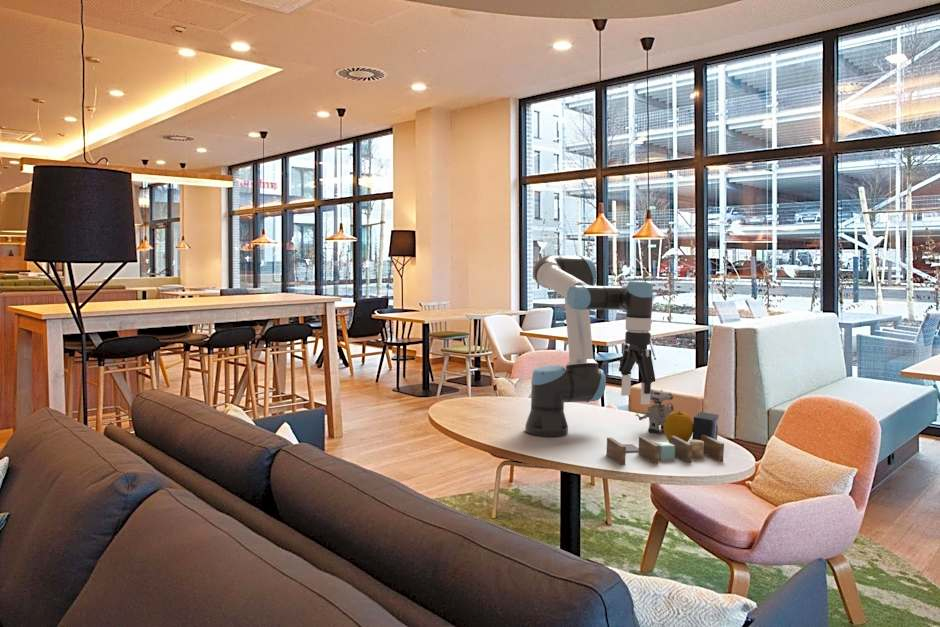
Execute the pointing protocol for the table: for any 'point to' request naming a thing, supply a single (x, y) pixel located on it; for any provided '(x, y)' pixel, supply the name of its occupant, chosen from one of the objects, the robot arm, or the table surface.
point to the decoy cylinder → (697, 448)
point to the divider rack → (652, 449)
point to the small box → (705, 425)
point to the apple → (678, 426)
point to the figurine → (658, 410)
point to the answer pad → (631, 448)
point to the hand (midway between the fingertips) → (635, 399)
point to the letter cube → (666, 450)
